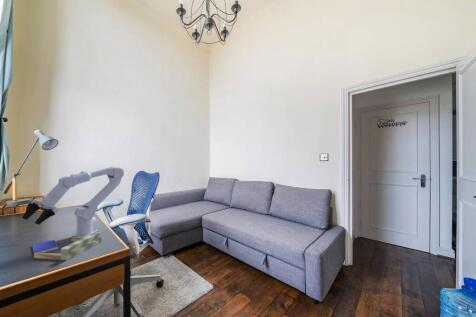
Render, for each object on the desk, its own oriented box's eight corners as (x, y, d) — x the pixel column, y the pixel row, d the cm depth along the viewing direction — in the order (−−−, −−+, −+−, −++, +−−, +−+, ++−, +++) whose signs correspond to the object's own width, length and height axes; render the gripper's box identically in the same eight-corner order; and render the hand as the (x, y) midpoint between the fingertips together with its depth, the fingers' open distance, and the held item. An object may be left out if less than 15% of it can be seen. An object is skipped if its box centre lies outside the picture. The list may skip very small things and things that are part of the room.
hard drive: (58, 246, 95) (54, 239, 103) (34, 252, 89) (32, 244, 97) (58, 249, 95) (54, 242, 103) (34, 255, 89) (32, 247, 97)
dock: (74, 239, 105) (74, 230, 105) (101, 241, 104) (101, 232, 104) (34, 258, 86) (34, 246, 86) (67, 260, 85) (67, 248, 85)
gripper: (36, 189, 98) (11, 213, 91) (59, 197, 96) (35, 223, 88) (47, 194, 104) (24, 218, 96) (69, 203, 102) (47, 228, 94)
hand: (30, 221), depth 93 cm, fingers open, 7 cm apart
